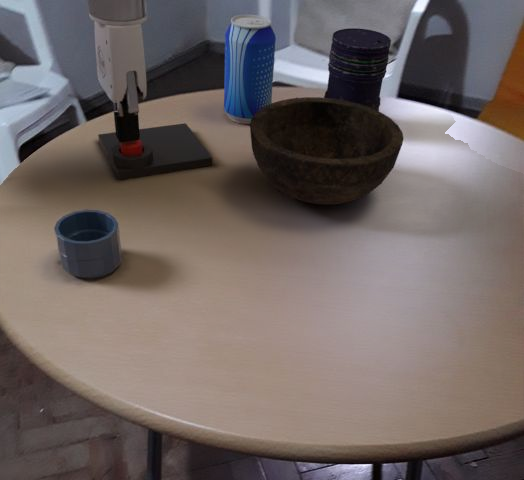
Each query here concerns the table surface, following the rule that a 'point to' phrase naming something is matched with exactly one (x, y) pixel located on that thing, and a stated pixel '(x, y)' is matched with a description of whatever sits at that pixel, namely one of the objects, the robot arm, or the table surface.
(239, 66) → the beer can
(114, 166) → the base
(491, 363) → the table surface
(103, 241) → the small cup
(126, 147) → the button
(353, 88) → the storage jar
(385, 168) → the bowl
